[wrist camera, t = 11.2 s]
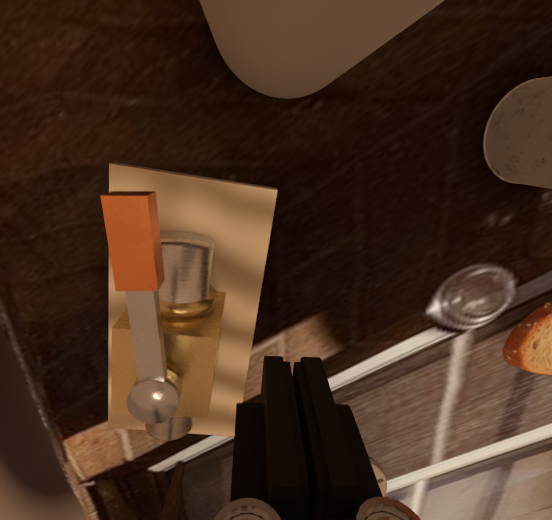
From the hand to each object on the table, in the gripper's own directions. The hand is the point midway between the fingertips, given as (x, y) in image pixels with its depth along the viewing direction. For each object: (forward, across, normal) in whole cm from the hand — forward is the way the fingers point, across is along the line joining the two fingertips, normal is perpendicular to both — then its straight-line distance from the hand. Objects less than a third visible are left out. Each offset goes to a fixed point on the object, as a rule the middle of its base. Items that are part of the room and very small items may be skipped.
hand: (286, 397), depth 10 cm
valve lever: (+14, +8, +5) cm, 17 cm away
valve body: (+24, +8, +11) cm, 27 cm away
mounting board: (+25, +8, +11) cm, 28 cm away
